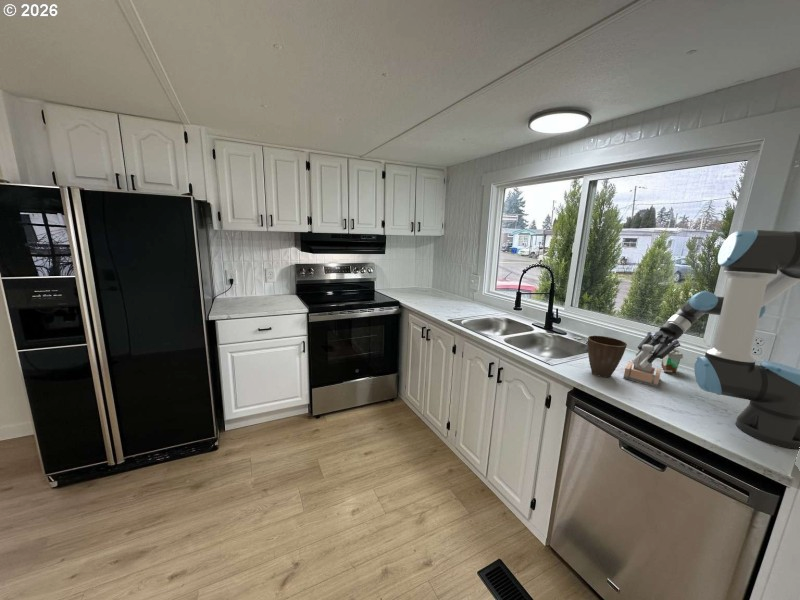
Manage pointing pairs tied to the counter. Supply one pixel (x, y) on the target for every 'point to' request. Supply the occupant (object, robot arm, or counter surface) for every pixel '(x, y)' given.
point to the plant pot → (604, 354)
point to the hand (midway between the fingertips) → (637, 364)
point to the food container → (671, 361)
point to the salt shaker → (646, 351)
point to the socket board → (642, 375)
